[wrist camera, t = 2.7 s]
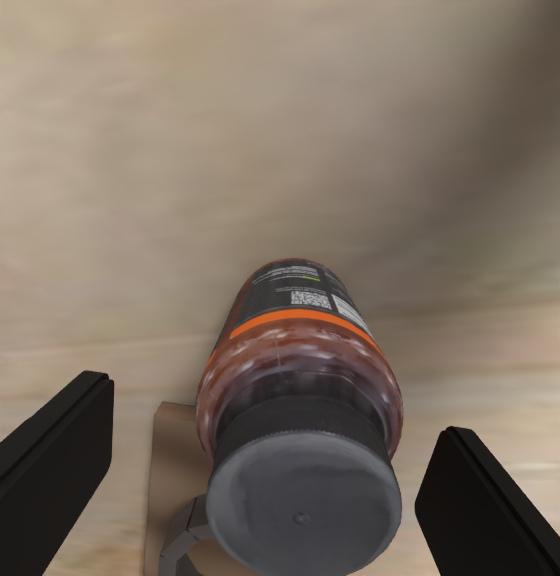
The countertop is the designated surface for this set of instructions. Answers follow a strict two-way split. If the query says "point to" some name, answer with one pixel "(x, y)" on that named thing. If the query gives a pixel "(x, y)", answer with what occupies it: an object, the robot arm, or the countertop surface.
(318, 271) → the supplement bottle
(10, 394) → the countertop surface
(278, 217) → the countertop surface
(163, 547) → the bottle holder
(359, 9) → the countertop surface
